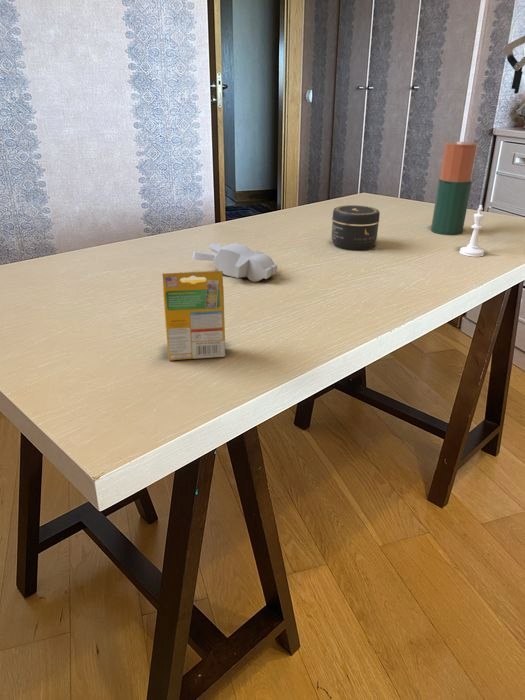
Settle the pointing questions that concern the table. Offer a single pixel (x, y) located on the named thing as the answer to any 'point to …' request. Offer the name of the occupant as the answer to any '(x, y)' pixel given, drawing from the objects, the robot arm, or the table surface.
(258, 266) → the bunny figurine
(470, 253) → the chess piece
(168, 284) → the crayon box
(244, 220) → the table surface
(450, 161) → the terracotta orange cylinder
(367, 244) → the jar
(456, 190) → the bottle
